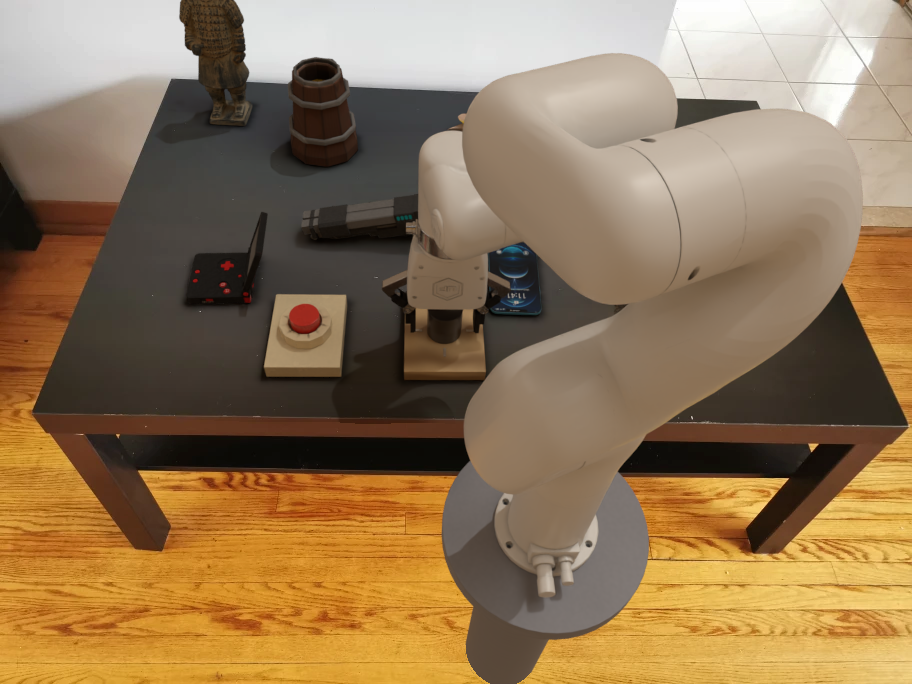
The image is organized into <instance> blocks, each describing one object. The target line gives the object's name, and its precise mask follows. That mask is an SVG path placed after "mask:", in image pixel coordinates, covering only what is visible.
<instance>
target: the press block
mask: <svg viewBox="0 0 912 684" xmlns="http://www.w3.org/2000/svg"><path fill="white" fill-rule="evenodd" d="M300 304H311V305H313V306H315V307H316V308H317V309H318V311H319V316H320V325H319V327H318V328H317V329H316V330H315V331H314V332H312V333H308V334H300V333H297V332H295V331H294V330H293V329H292V327H291V324H290V319H289V313H290V311H291V310H292V309H293V308H294V307H295V306H297V305H300ZM347 312H348V299H347V294H299V293H298V294H295V293H294V294H293V293H292V294H290V293H287V294H285V293H277V294H275V299H274V305H273V311H272V317H271V322H270V327H269V328H270V329H269V335H268V341H267V346H266V351H265V352H266V353H265V358H264V363H263V364H264V365H263V370H264V373H265V376H266V377H267V378H269V377H271V378H275V377H276V378H277V377H279V378H285V377H287V378H288V377H289V378H290V377H291V378H293V377H294V378H303V377H304V378H323V377H324V378H329V377H330V378H342V374H343V372H342V371H343V361H344V348H345V338H346V337H345V335H346V327H347V326H346V324H347Z"/></svg>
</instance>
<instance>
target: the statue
mask: <svg viewBox="0 0 912 684" xmlns="http://www.w3.org/2000/svg"><path fill="white" fill-rule="evenodd" d="M178 19H179V21H180V22H181V24H183V27H184V47H185V48H186V49H187V50H188V51H190V52H191V53H192V55H193V56H196V57H197V58H198V61H197V62H198V65H197V66H198V67H197V68H198V69H197V70H198V74H197V75H198V76H197V80H198V82H199V84H200V85H201V86H204V88H205V90H206V92H207V93H208V95H209V97H210V99H211V101H212V103H213V106H212V112H211V114H210V117H209V120H208V121H209V124H211V125H218V126H219V125H221V126H238V127H246V126H247V123H248V121H249V118H250V117H251V116H250V115H251V112H252V110H253V103H252V101H250V100H246V99H247V98H246V93H247V92H246V91H247V87H248V86H247V85H248V83H247V82H248V78H249V77H250V70H249V68H248V66H247V65H246V63H245V61H244V60H245V59H246V57H247V53H246V52H245V51H246V50H247V49H246V48H247V47H246V46H247V45H246V37H245V31H244V27H243V24H244V23H245V18H244V15H243V13H242V11H241V8H240V6H239V5H238V3H237V2H236V1H235V0H180V2H179V15H178ZM225 90H227V91H228V92H229V95H230V97H231V99H226V93H225Z"/></svg>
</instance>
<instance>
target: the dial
mask: <svg viewBox="0 0 912 684" xmlns="http://www.w3.org/2000/svg"><path fill="white" fill-rule="evenodd" d="M462 317H463V310H449V309H427V334H428V336H429V337H430V338H431V339H432V340H433V341H434V342H436V343H440V344H449V343H452V342H454V341H456V340H457V339H458V338H459V337H460V335H461V328H462Z"/></svg>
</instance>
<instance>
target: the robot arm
mask: <svg viewBox="0 0 912 684" xmlns="http://www.w3.org/2000/svg"><path fill="white" fill-rule="evenodd" d="M678 106H679V105H678V99H677V95H676V91H675V88H674V86H673V84H672V82H671V81H670V79H669V77H668V76H667V75H666V73H664V71H663V70H662V69H661V68H660V67H659V66H657V65H656V64H654V63H653V62H651V61H650V60H648V59H645V58H643V57H641V56H639V55H634V54H630V53H624V52H623V53H622V52H610V53H601V54H596V55H589V56H585V57H580V58H576V59H573V60H569V61H564V62H560V63H555V64H551V65H548V66H543V67H539V68H533V69H530V70H526V71H521V72H517V73H511V74H508V75H505V76H502V77H499V78H497V79H495V80H492V81H491V82H490V83H489V84H487V85H485V86H484V87H483V88H481V90H480V91H479V92H478V93H477V94H476V95H475V97H474V98H473V100H472V101H471V102H470V105H469V106H468V109H467V111H466V113H465V114H466V117H465V120H464V125H463V131H462V132H461V131H451V130H444V131H440V132H437V133H435V134H433V135H431V136H429V137H428V138H427V139H425V141H424V142H423V144H422V145H421V147H420V149H419V153H418V179H417V183H418V187H417V189H418V190H417V192H418V193H417V194H418V219H416V222H415V221H412V223H406V234H409V235H412V239H411V243H410V247H409V253H408V259H407V260H408V261H407V269H405V270H402V271H401V272H399V273H396V274H394V275H392V276H390V277H387V278H386V279H383V280H382V281H381V291H382V292H383V293H384V294H385V295H386V296H387V297H389V298H390V300H391V302H392V303H394V305H397V306H398V307H399V308H400V309H402V312H403V313H404V325H405V324H410V333H414V332H416V308H419V309H449V310H466V309H473V332H475V333H479V327H480V324H482V325H483V326H484V325H485V320H486V315H487V314H488V313H489V310H491V309H490V308H491V307H493V306H495V305H496V304H498V303H500V301H501V299H502V298H504V297H505V296H506V295H507V294H509V293H510V292H511V285H510V282H508V281H506V280H504V279H502V278H501V277H499V276H497V275H495V274H493V273H491V272H489V258H488V253H489V252H493V251H496V250H499V249H501V248H504V247H507V246H510V245H513V244H517V243H520V242H523V243H526V244H527V245H528V246H529V247H530V248H531V249H532V250H533V251H534V252H535V253H536V255H537V257H539V258H540V259H541V260H542V261H543V262H544V263H545V264H546V265H547V266H548V267H549V268H550V269H551V270H552V271H553V272H554V273H555V274H556V275H557V276H558V277H559V278H560V279H562V281H564V283H565V284H567V285H568V286H569V287H570V288H571V289H573V290H574V291H576V292H577V293H578V294H579V295H582V296H583V297H585V298H587V299H590V300H591V301H593V302H596V303H600V304H603V305H610V306H614V305H615V306H616V305H618V306H619V305H626V306H625V307H623V308H622V309H620V310H619V311H618V312H616V313H615V314H613V315H611V316H609V317H607V318H603V319H600V320H597V321H593V322H591V323H588V324H585V325H583V326H580V327H578V328H574V329H572V330H569V331H567V332H564V333H561V334H559V335H555V336H552V337H550V338H548V339H544V340H542V341H539V342H537V343H533V344H531V345H528V346H526V347H524V348H522V349H519V350H517V351H515V352H514V353H512V354H510V355H508V356H507V357H505V358H503V359H502V360H501V361H499V362H498V363H497V364H496V365H495V366H494V367H493V368H492V370H491V371H490V372H489V374H488V375H487V377H485V380H483V382H482V383H481V385H479V387H478V389H476V391H475V392H474V394H473V396H472V397H471V399H470V401H469V403H468V405H467V407H466V410H465V414H464V419H463V439H464V445H465V449H466V452H467V455H468V458H469V461H471V463H472V465H473V467H474V468H475V470H476V471H477V473H478V474H479V475H480V477H481V478H482V479H483V480H484V481H485V482H486V483H487V484H489V485H490V486H491V487H493V488H494V489H496V490H498V491H500V492H503V493H504V494H503V495H502V497H501V498H500V500H499V503H498V505H497V508H496V512H495V519H494V527H495V533H496V537H497V540H498V542H499V545H500V547H501V548H502V550H503V551H504V553H505V554H506V555H507V557H508V558H509V559H510V560H511V561H512V562H513V563H515V564H516V565H517V566H519V567H520V568H522V569H524V570H526V571H527V572H530V573H533V574H536V575H537V577H538V579H537V586H538V596H540V597H545V598H547V597H552V596H555V595H556V594H555V585H554V578H553V576H561V581H562V585H564V586H570V585H573V584H574V580H573V573H572V572H573V571H575V570H577V569H578V568H579V567H581V566H582V565H583V564H584V563H585V562H586V561H587V560H588V558H589V557H590V556H591V554H592V552H593V550H594V548H595V545H596V543H597V538H598V521H597V517H596V512H597V510H598V508H599V506H600V504H601V502H602V500H603V498H604V496H605V494H606V492H607V490H608V488H609V487H610V485H611V483H612V480H613V479H614V477H615V475H616V473H617V471H618V472H619V471H620V468H621V467H622V466H623V465H624V463H626V461H627V460H628V459H630V457H631V456H632V455H633V453H634V452H635V451H636V450H637V449H638V447H639V446H640V445H641V444H642V442H643V441H644V439H645V437H646V436H647V435H648V434H650V433H651V432H653V431H655V430H656V429H658V428H660V427H661V426H663V425H665V424H666V423H668V422H669V421H671V420H672V419H674V417H676V416H678V415H679V414H681V413H682V412H683V411H685V410H687V409H688V408H690V407H692V406H693V405H696V404H698V403H699V402H701V401H702V400H704V399H706V398H708V397H710V396H711V395H714V394H716V392H718V391H719V390H721V389H722V388H724V387H726V386H727V385H729V384H730V383H732V382H733V381H735V380H737V379H739V378H740V377H741V376H743V375H745V374H746V373H748V372H750V371H751V370H753V369H754V368H756V367H758V366H759V365H761V364H763V363H764V362H765V361H767V360H768V359H770V358H772V357H773V356H774V355H775V354H777V353H779V352H780V351H781V350H783V349H784V348H786V347H787V346H788V345H789V344H790V343H792V342H793V341H794V340H795V339H796V338H798V336H799V335H801V333H803V332H804V331H805V330H806V329H807V328H808V327H809V326H810V325H811V324H812V323H813V322H814V321H815V319H817V318H818V317H819V315H820V314H821V313H822V312H823V311H824V309H826V307H827V305H828V304H829V303H830V302H831V300H832V299H833V298H834V296H835V294H836V293H837V291H838V290H839V289H840V286H841V284H843V281H844V280H845V277H846V275H847V273H848V271H849V269H850V268H851V265H852V262H853V260H854V257H855V254H856V251H857V247H858V243H859V238H860V234H861V230H862V223H863V222H862V221H863V213H864V212H863V210H864V208H863V207H864V192H863V191H864V190H863V182H862V175H861V169H860V166H859V162H858V158H857V156H856V153H855V152H854V150H853V148H852V146H851V144H850V142H849V141H848V139H847V137H846V136H845V135H844V133H842V132H841V131H840V130H839V129H838V128H837V127H835V126H834V125H833V123H831V122H830V121H828V120H826V119H824V118H822V117H819V116H818V115H815V114H813V113H810V112H807V111H802V110H801V111H800V110H797V109H796V110H795V109H789V108H760V109H759V108H757V109H751V110H743V111H738V112H732V113H728V114H724V115H720V116H716V117H713V118H708V119H705V120H701V121H698V122H695V123H691V124H686V125H683V126H680V127H676V124H677V119H678V113H679V112H678V110H679V109H678V108H679V107H678ZM404 286H406V291H404V290H403V289H401V288H402V287H404ZM488 287H491V288H493V290H491V291H490V290H488ZM504 503H506V504H507V505H504ZM586 545H588V546H589V547H587V546H586ZM507 546H510V547H511V548H507ZM552 569H553V571H552Z"/></svg>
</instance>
